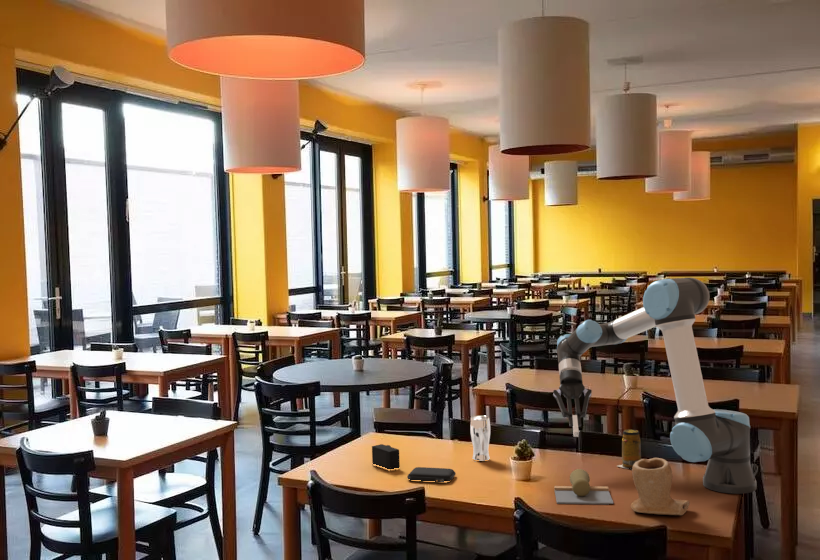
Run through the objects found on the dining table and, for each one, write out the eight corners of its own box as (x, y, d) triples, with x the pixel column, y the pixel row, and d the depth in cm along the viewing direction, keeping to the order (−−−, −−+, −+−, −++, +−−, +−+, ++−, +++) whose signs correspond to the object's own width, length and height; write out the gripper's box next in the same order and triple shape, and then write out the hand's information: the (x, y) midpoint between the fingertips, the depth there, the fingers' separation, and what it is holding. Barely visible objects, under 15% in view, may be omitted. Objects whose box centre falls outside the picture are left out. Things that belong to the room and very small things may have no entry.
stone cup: (627, 517, 216) (626, 463, 215) (633, 504, 227) (633, 452, 226) (686, 523, 210) (685, 467, 209) (689, 509, 221) (689, 456, 220)
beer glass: (494, 458, 279) (493, 416, 279) (485, 463, 273) (484, 420, 273) (476, 456, 283) (475, 414, 282) (467, 461, 277) (466, 418, 276)
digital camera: (402, 469, 270) (402, 448, 269) (390, 472, 266) (389, 451, 266) (385, 462, 278) (384, 443, 278) (372, 465, 275) (371, 445, 274)
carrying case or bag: (404, 483, 253) (449, 486, 249) (404, 474, 253) (449, 476, 249) (413, 474, 264) (456, 476, 260) (413, 465, 264) (456, 467, 260)
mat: (554, 489, 242) (554, 485, 242) (607, 490, 240) (607, 486, 240) (556, 503, 229) (556, 499, 229) (613, 504, 227) (613, 500, 227)
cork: (591, 470, 242) (593, 480, 231) (588, 489, 242) (590, 501, 231) (571, 467, 243) (572, 477, 232) (568, 486, 243) (569, 497, 232)
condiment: (629, 462, 270) (628, 427, 269) (650, 467, 263) (650, 431, 263) (616, 466, 265) (615, 431, 265) (638, 471, 259) (637, 435, 258)
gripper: (589, 381, 272) (596, 440, 256) (551, 381, 274) (555, 440, 258) (590, 367, 267) (597, 427, 251) (551, 368, 268) (555, 428, 252)
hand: (576, 434), depth 254 cm, fingers closed
